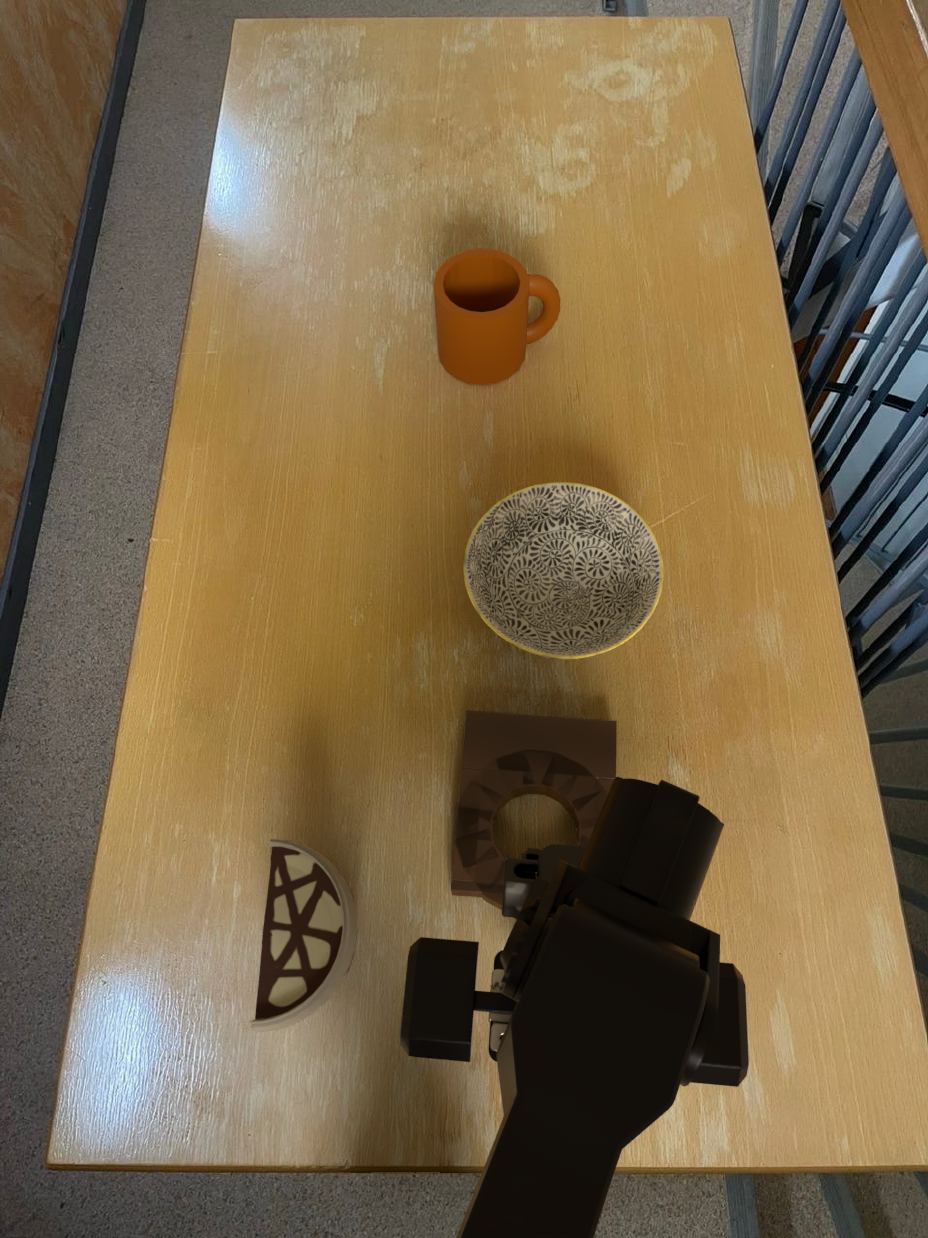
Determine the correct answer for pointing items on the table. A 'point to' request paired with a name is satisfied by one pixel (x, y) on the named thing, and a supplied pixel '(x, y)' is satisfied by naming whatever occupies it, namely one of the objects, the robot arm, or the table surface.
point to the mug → (488, 314)
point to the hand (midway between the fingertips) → (561, 1014)
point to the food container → (302, 936)
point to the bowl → (563, 570)
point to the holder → (524, 784)
